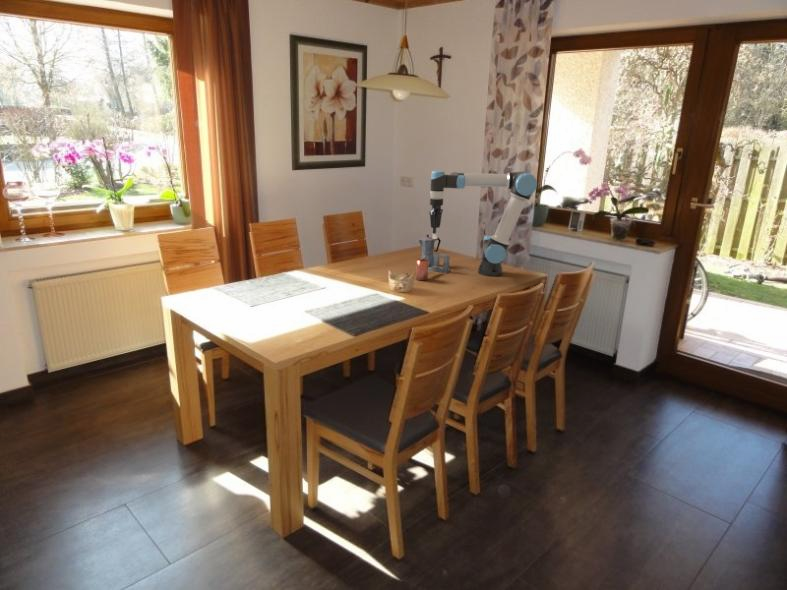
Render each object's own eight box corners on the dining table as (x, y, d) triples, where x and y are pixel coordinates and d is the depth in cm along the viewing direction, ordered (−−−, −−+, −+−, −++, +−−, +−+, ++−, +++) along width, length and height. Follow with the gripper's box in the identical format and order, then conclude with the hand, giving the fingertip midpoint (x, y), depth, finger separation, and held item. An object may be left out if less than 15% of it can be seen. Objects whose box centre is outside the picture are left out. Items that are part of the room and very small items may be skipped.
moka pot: (413, 264, 355) (415, 233, 349) (434, 262, 361) (436, 232, 355) (420, 268, 347) (422, 236, 341) (442, 266, 353) (444, 235, 347)
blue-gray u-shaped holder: (450, 271, 342) (451, 254, 338) (445, 273, 337) (447, 256, 334) (436, 268, 347) (437, 252, 343) (431, 270, 342) (432, 253, 339)
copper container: (441, 273, 335) (442, 254, 331) (423, 280, 318) (425, 261, 314) (431, 271, 338) (432, 252, 335) (413, 278, 321) (414, 259, 317)
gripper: (436, 196, 324) (434, 236, 332) (425, 198, 314) (424, 239, 321) (447, 197, 321) (445, 237, 328) (437, 200, 310) (435, 241, 317)
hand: (434, 238), depth 324 cm, fingers closed
